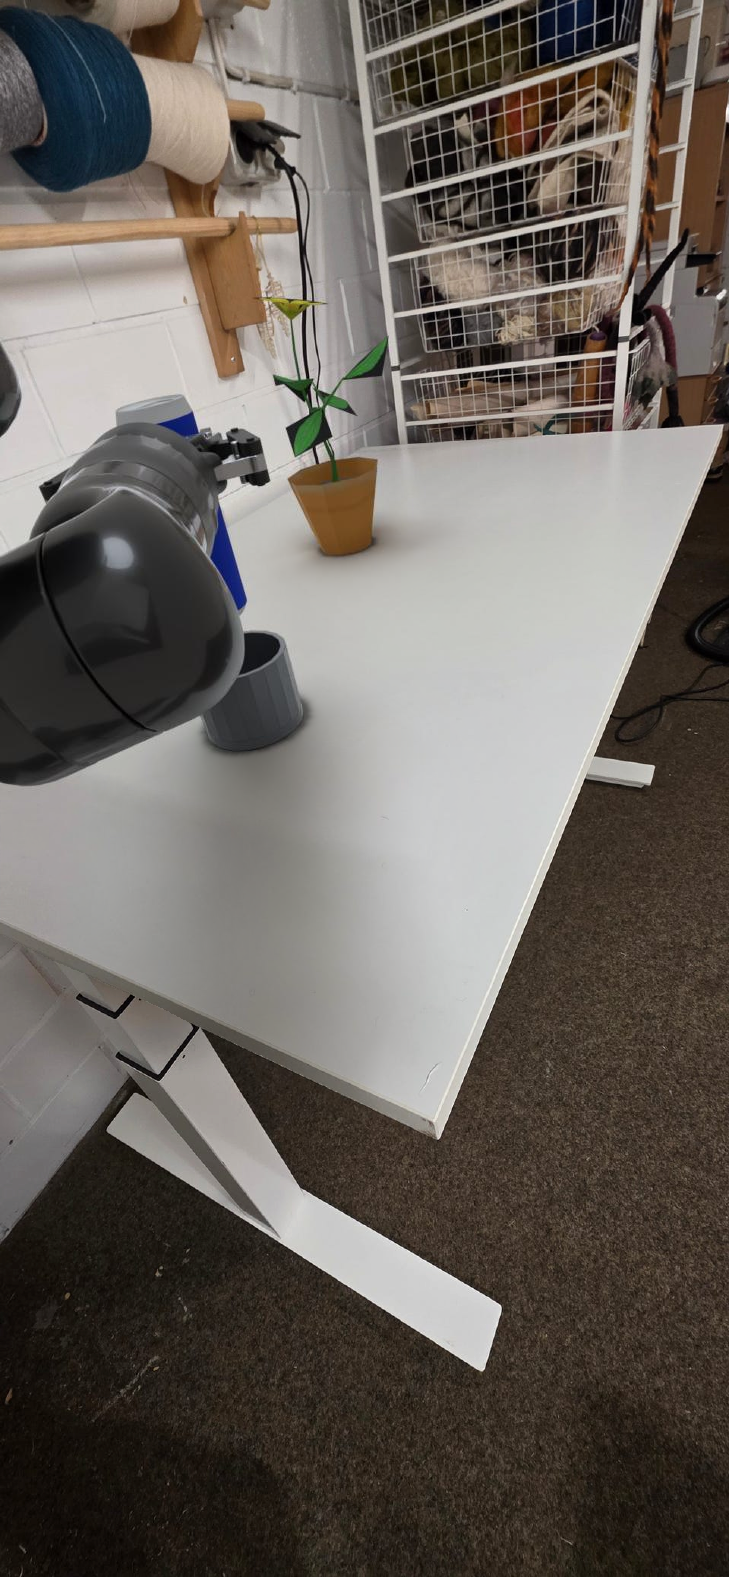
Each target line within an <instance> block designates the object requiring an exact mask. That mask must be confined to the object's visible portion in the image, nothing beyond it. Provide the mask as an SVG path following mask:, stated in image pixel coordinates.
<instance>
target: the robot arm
mask: <svg viewBox="0 0 729 1577" xmlns="http://www.w3.org/2000/svg"><path fill="white" fill-rule="evenodd" d="M22 400H23V388H22V383H21V379H20V375H19V372H18V370H17V367H16V365H15V363H14V361H13V359H12V357H11V355H10V354H9V352H8V350H7V347H6V346H5V344H4V342H3V341H2V338H0V440H1V439H2V438H3V437H4V436H5V435H6V434H7V433H8V431H9V430H10V429H11V427H12V425H13V424H14V422H15V421H16V419H17V417H18V416H19V413H20V410H21V408H22ZM225 435H226V438H225V439H223V436H222V432H213V431H212V429H211V427H210V426H209V427H204V428H200V430H199V434H194V435H187V436H183V437H182V436H181V435H179V434H178V433H176V432H174V431H172V430H170V429H168V428H166V427H163V426H160V425H157V424H152V423H145V422H134V423H127V424H123V425H120V426H117V425H116V426H115V427H113V428H111V429H109V430H107V431H105V432H104V433H102V434H101V435H100V436H99V437H98V438H97V439H96V440H95V441H94V442H93V443H92V444H91V445H90V446H89V447H88V448H87V449H86V450H85V451H84V453H82V454H81V455H80V457H79V458H78V459H76V461H74V463H73V464H72V466H69V467H68V468H66V469H64V470H63V471H61V472H60V473H58V474H56V475H55V476H53V477H52V478H50V479H48V480H46V481H43V483H42V484H40V485H38V489H39V491H40V494H41V496H42V498H43V501H44V503H45V505H43V507H42V509H41V510H40V512H39V514H38V516H37V518H36V519H35V522H34V523H33V525H32V527H31V530H30V535H29V536H28V540H27V541H25V542H24V543H21V544H20V545H17V546H15V547H14V548H12V549H10V550H8V551H6V552H4V553H3V554H1V555H0V783H1V784H4V785H11V786H17V787H36V786H42V785H47V784H50V783H54V782H57V781H59V780H62V779H64V778H66V777H69V776H71V775H74V774H76V773H78V772H80V771H82V770H84V769H87V768H89V767H91V766H93V765H96V764H97V763H99V762H100V761H103V760H105V759H108V758H110V757H112V756H115V755H116V754H119V753H121V752H124V751H125V750H128V749H130V748H132V747H134V746H137V745H139V744H141V743H143V742H146V741H148V740H151V739H152V738H155V737H157V736H160V735H162V734H163V733H164V732H168V731H171V730H173V729H175V728H177V727H179V726H182V725H183V724H185V723H188V722H190V721H193V720H195V719H196V718H199V717H200V715H202V714H204V713H205V712H207V711H208V710H210V709H211V708H212V707H214V706H215V705H216V704H217V703H218V702H220V701H221V700H222V698H223V697H224V696H225V695H226V694H227V693H228V691H229V690H230V688H231V687H232V685H233V684H234V682H235V681H236V679H237V677H238V675H239V673H240V671H241V668H242V665H243V660H244V654H245V643H244V632H243V631H244V628H243V624H242V619H241V617H240V616H241V615H240V616H239V613H238V610H237V607H236V605H235V602H234V600H233V597H232V595H231V593H230V591H229V589H228V587H227V585H226V583H225V581H224V580H223V578H222V576H221V574H220V573H219V571H218V570H217V568H216V567H215V565H214V563H213V562H212V560H211V559H210V556H211V553H212V549H213V544H214V537H215V535H216V532H217V528H218V523H217V513H218V500H219V495H220V494H223V492H225V490H226V489H227V487H228V480H231V479H235V478H239V480H240V484H241V485H246V484H249V485H250V486H253V487H264V486H266V485H267V484H268V483H271V478H270V473H269V469H268V464H267V461H266V456H265V452H264V448H263V443H262V440H261V438H260V436H258V435H255V434H254V433H252V432H250V431H248V430H247V429H246V428H239V427H232V428H230V430H228V431H226V432H225Z"/></svg>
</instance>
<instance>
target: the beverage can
mask: <svg viewBox="0 0 729 1577" xmlns="http://www.w3.org/2000/svg"><path fill="white" fill-rule="evenodd" d="M114 412H115V422H116V427H117V426H120V425H123V424H127V423H134V422H145V423H152V424H157V425H160V426H163V427H166V428H168V429H170V430H172V431H174V432H176V433H178V434H179V435H181V436H182V437H183V436H187V435H194V434H199V432H200V430H199V427H198V424H197V421H196V417H195V414H194V411H193V408H192V407H191V405H190V403H189V402H188V399H187V398H186V396H185V395H184V394H182V393H181V394H180V393H178V394H177V393H176V394H168V395H162V396H157V397H152V398H148V399H144V400H139V401H136V402H132V403H129V404H126V405H122V406H120V407H119V408H118V407H117V409H115V410H114ZM217 523H218V528H217V532H216V535H215V537H214V544H213V549H212V553H211V556H210V559H211V560H212V562H213V563H214V565H215V567H216V568H217V570H218V571H219V573H220V574H221V576H222V578H223V580H224V581H225V583H226V585H227V587H228V589H229V591H230V593H231V595H232V597H233V600H234V602H235V605H236V607H237V610H238V613H239V616H241V615H242V614H243V613H244V611H245V608H246V606H247V603H248V598H247V595H246V591H245V588H244V584H243V581H242V577H241V574H240V569H239V567H238V562H237V560H236V556H235V552H234V549H233V547H232V543H231V542H232V541H231V539H230V535H229V531H228V530H227V529H228V528H227V525H226V521H225V518H224V515H223V511H222V507H221V504H220V501H219V499H218V513H217Z"/></svg>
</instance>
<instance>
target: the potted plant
mask: <svg viewBox="0 0 729 1577" xmlns="http://www.w3.org/2000/svg"><path fill="white" fill-rule="evenodd" d="M253 299H254V300H259V301H266V302H271V303H272V304H273V305H274V306H275V307H276V308H277V309H278V310H279V311H280V312H281V313H282V314H283V315H284V316H285V317H286V318H287V319H289V322H290V334H291V335H290V336H291V344H292V354H293V358H294V364H295V371H296V375H297V379H291V378H288V377H284V376H281V375H277V374H272V378H273V382H274V386H275V387H278V386H282V385H284V386H285V387H286V388H287V389H288V390H289V391H291V393H293V394H294V395H295V396H296V397H298V399H299V400H300V401H302V402H303V403H305V404H306V406H307V408H308V410H309V412H310V413H309V414H307V415H305V416H304V417H302V418H300V419H298V420H296V421H294V422H293V423H291V424H289V425H288V426H285V431H286V434H287V437H288V442H289V444H290V446H291V450H292V453H293V457H294V458H297V457H299V456H301V455H302V454H304V453H307V452H308V451H310V450H312V449H313V448H315V447H318V446H319V445H321V444H323V445H324V448H325V450H326V453H327V455H328V457H329V460H325V461H324V462H320V463H316V464H313V465H310V466H307V467H304V468H301V469H299V470H297V471H296V472H295V473H293V474H292V475H290V476H289V477H288V478H287V482H288V484H289V486H290V488H291V490H292V492H293V494H294V496H295V499H296V500H297V502H298V504H299V506H300V508H301V511H302V512H303V515H304V517H305V519H306V521H307V523H308V525H309V527H310V529H311V531H312V533H313V535H314V537H315V540H316V541H317V544H318V546H319V548H320V549H321V550H320V551H322V552H323V553H324V555H326V556H344V555H350V554H354V553H359V552H360V551H362V550H364V549H366V548H368V547H369V546H371V545H372V533H373V522H374V509H375V499H376V487H377V475H378V464H379V463H378V462H379V459H377V458H370V457H361V456H356V457H355V456H354V457H347V458H340V459H335V456H334V454H333V452H332V450H331V448H330V446H329V443H328V440H330V439H332V438H334V436H333V434H332V431H331V428H330V425H329V422H328V419H327V416H326V408H327V406H329V407H332V408H334V409H336V410H339V411H343V412H345V413H347V414H350V415H353V416H356V417H358V414H357V413H356V412H355V410H354V409H353V408H352V406H351V405H350V404H349V403H348V402H347V400H346V399H344V398H342V397H339V396H336V395H335V393H336V392H337V390H338V389H339V387H340V386H341V384H342V382H343V381H346V380H347V381H349V380H357V379H366V378H367V379H368V378H377V377H378V378H379V377H383V373H384V367H385V361H386V355H387V349H388V344H389V336H390V335H387V336H386V337H385V338H384V339H383V340H382V341H381V342H380V343H378V344H377V345H376V346H375V347H374V348H372V350H371V351H369V352H368V353H367V354H366V355H365V356H364V357H362V359H361V360H360V361H358V362H357V363H356V364H355V365H354V367H352V369H351V370H350V371H349V372H348V373H347V374H346V375H345V376H343V377H342V378H341V379H340V380H339V381H338V382H337V385H336V386H335V387H334V389H333V390H332V392H331V393H328V392H326V391H323V390H320V389H318V388H317V386H316V384H315V382H314V380H315V378H304V379H303V378H301V372H300V367H299V361H298V356H297V351H296V350H297V349H296V342H295V334H294V325H293V320H294V319H296V318H297V317H298V316H300V314H301V313H303V312H304V311H305V310H306V309H307V308H309V307H310V306H323V305H329V303H327V302H321V301H315V300H310V299H309V300H308V299H298V298H286V297H271V296H264V297H262V296H261V297H253ZM312 386H313V387H312ZM311 387H312V389H313V391H314V392H315V394H316V395H317V396H318V397H319V399H320V401H321V403H322V406H311V403H310V400H309V398H308V396H309V392H310V390H311Z"/></svg>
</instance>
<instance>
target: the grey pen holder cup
mask: <svg viewBox="0 0 729 1577" xmlns="http://www.w3.org/2000/svg"><path fill="white" fill-rule="evenodd" d="M243 632H244V643H245V654H244V660H243V665H242V668H241V671H240V673H239V675H238V677H237V679H236V681H235V682H234V684H233V685H232V687H231V688H230V690H229V691H228V693H227V694H226V695H225V696H224V697H223V698H222V700H221V701H220V702H218V703H217V704H216V705H215V706H214V707H212V708H211V709H210V710H208V711H207V712H205V713H204V714H202V715H200V716H199V717H200V719H201V723H202V725H203V728H204V730H205V731H206V734H207V737H208V739H209V741H210V742H211V743H212V744H213V745H214V746H216V747H217V748H220V749H223V750H226V751H235V752H242V751H250V750H256V749H257V750H258V749H260V748H264V747H267V746H270V745H273V744H275V743H278V742H279V741H281V740H283V739H284V738H286V737H288V736H289V735H290V734H292V733H293V732H294V731H295V730H296V729H297V728H298V726H299V725H300V724H301V722H302V721H303V717H304V709H303V705H302V700H301V696H300V692H299V688H298V685H297V684H298V683H297V682H296V678H295V677H296V676H295V673H294V669H293V665H292V662H291V658H290V653H289V650H288V647H287V643H286V640H285V638H284V637H283V636H281V635H280V634H279V633H277V632H273V631H269V630H263V629H262V630H259V629H252V630H243Z"/></svg>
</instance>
